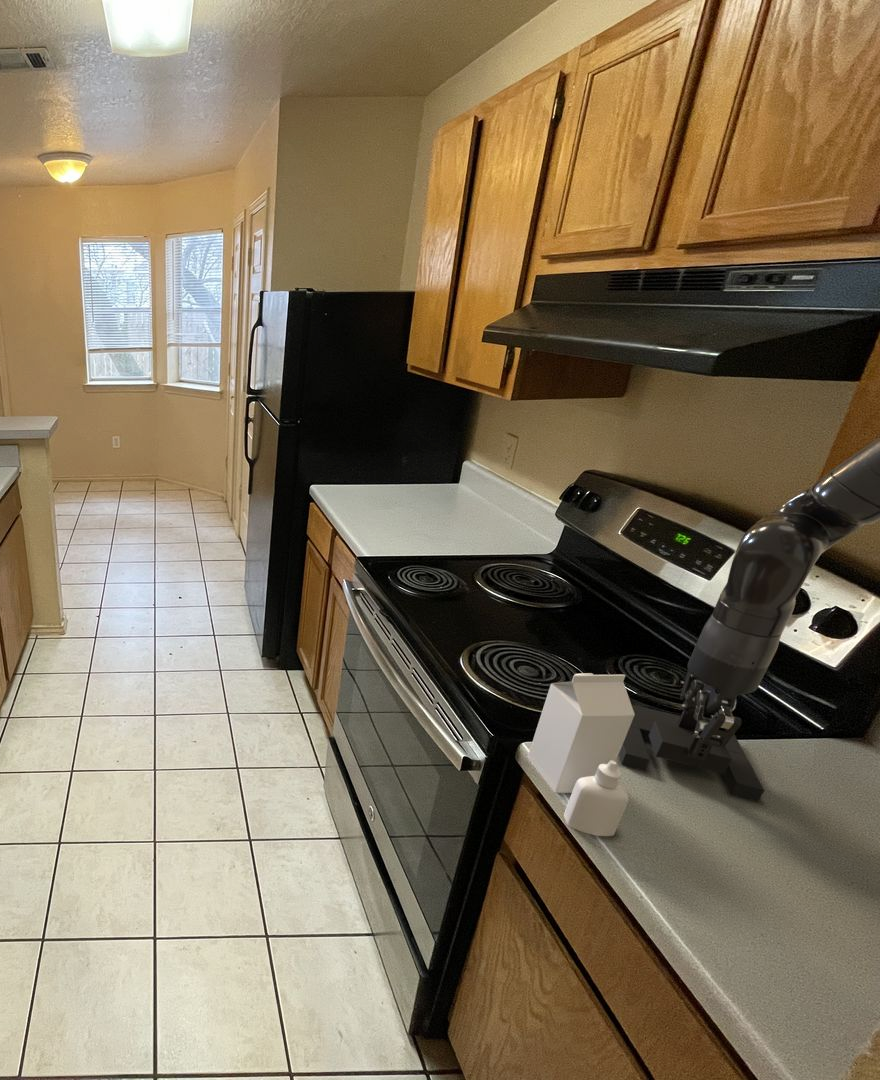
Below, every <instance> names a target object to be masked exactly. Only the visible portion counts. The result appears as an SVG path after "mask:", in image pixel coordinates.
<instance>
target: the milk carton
mask: <svg viewBox="0 0 880 1080" xmlns="http://www.w3.org/2000/svg"><path fill="white" fill-rule="evenodd" d="M625 678H626V674H621V673H620V674H594V673H592V672H587V673H586V672H585V673H583V672H582V673H581V672H580V673H574V675H573V676H572V679H571V681H563V682H551V683H550V686H549V688H548V692H547V695H546V698H545V701H544V705H543V708H542V711H541V713H540V717H539V719H538V723H537V727H536V729H535V733H534V736H533V739H532V741H531V744H530V748H529V751H528V754H527V759H528V760H529V761H530V762H531V763H532V765H533V766H534V768H535V769H536V770H537V772H538V773H539V774H540V776H541V777H542V778H543V779H544V781H545V782H546V783H547V784H548V785H549V787H550V788H551V790H552V791H553V792H554V793H555V794H572V791H573V789H574V786H575V784H576V782H577V780H578V779H580V778H583V777H589V776H595V774H596V772H597V769H598V767H599V765H600V764H608V763H609V762H610V761H611V760H612V761H615V762H616V763H617V760H618V757H619V752H620V750H621V747H622V745H623V742H624V740H625V737H626V735H627V732H628V730H629V727H630V725H631V722H632V720H633V717H634V715H635V714H634V711H633V708H632V705H633V704H632V703H631V700H630V696H629V694H628V692H627V688H626V686H625V685H626V684H625V682H624V680H625ZM631 704H632V705H631Z"/></svg>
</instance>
